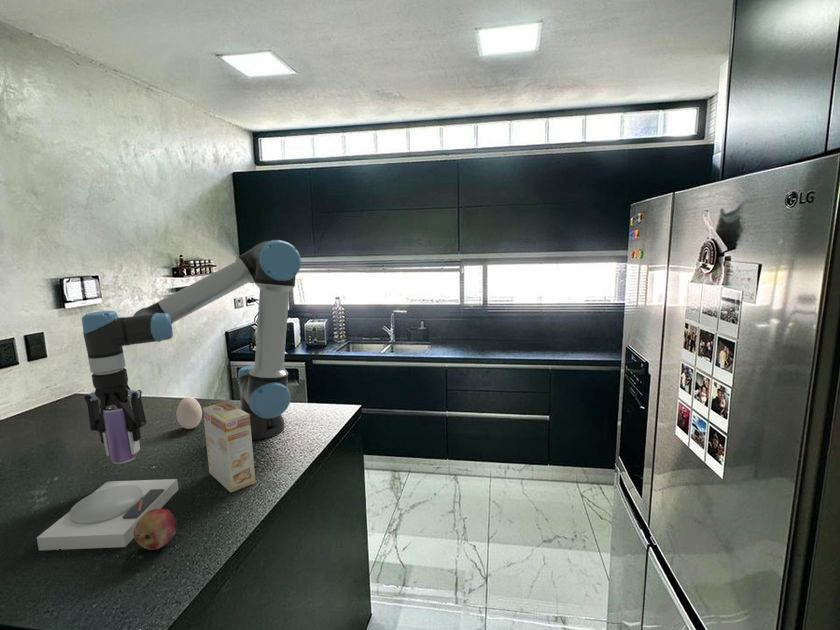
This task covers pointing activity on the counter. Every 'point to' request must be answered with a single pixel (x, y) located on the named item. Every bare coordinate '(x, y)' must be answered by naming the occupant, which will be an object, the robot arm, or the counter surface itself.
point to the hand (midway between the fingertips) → (123, 452)
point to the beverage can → (117, 435)
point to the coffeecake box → (229, 445)
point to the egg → (189, 413)
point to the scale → (107, 515)
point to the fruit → (155, 529)
